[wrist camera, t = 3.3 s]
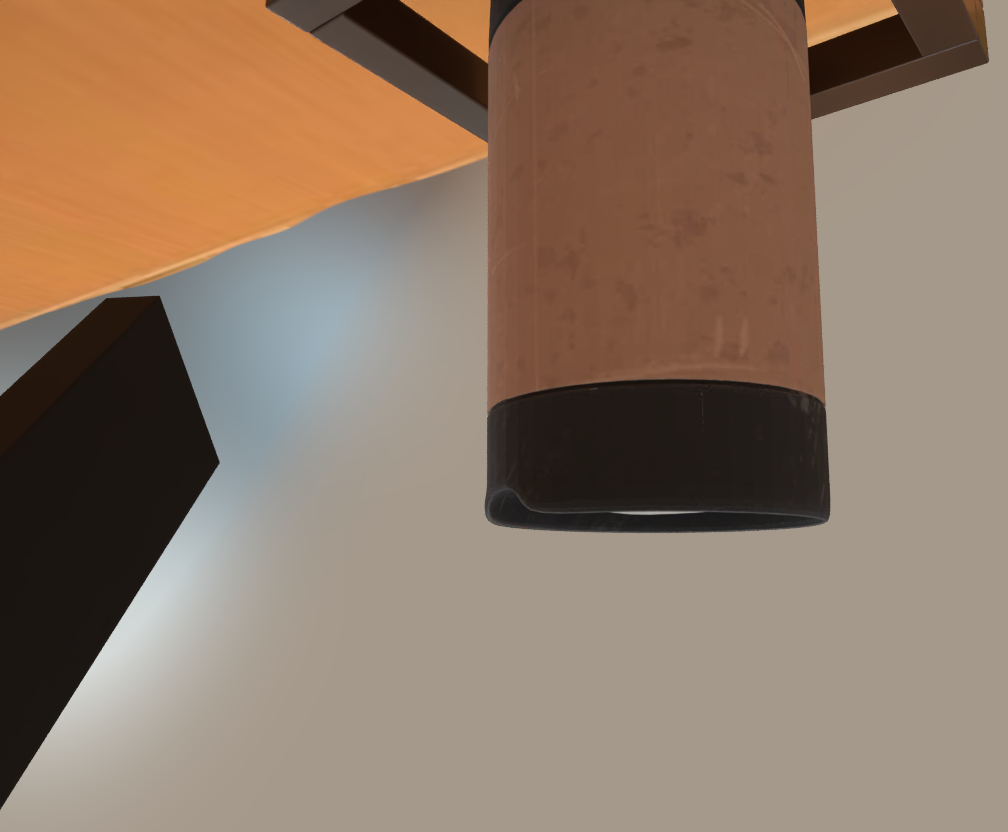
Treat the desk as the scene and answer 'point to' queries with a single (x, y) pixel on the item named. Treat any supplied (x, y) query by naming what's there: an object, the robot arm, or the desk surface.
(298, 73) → the desk surface
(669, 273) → the travel mug
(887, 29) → the rack
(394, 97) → the desk surface
